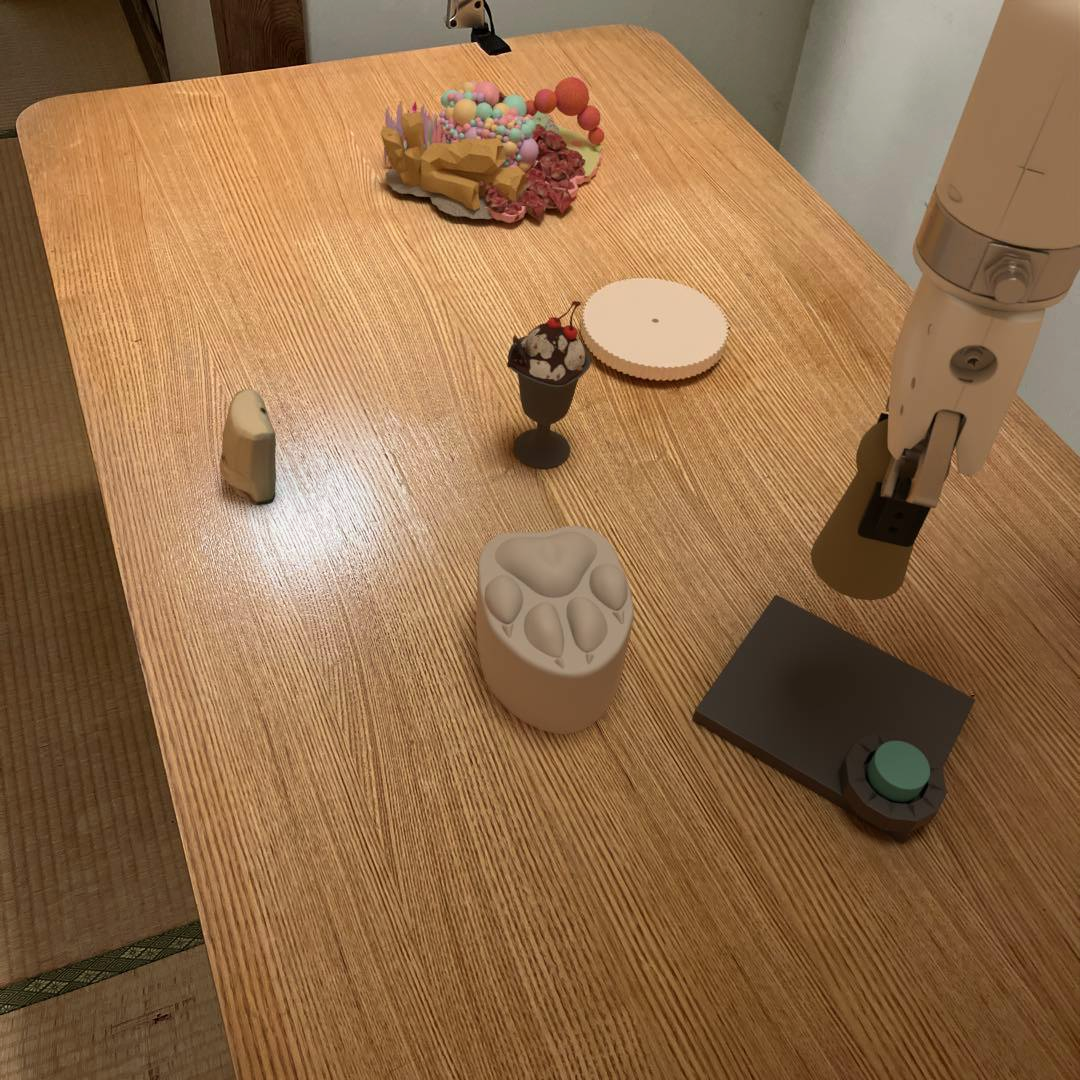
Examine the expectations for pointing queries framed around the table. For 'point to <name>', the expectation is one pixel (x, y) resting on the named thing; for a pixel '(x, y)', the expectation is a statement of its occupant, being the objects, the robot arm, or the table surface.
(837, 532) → the brown game pawn
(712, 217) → the table surface
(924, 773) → the scale button
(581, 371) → the sundae
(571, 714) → the lumpy-topped squat cylinder
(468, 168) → the candy landscape model
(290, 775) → the table surface
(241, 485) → the tan tall rounded block
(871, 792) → the scale
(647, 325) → the plastic lid
